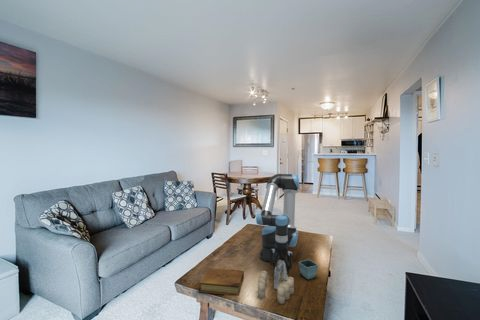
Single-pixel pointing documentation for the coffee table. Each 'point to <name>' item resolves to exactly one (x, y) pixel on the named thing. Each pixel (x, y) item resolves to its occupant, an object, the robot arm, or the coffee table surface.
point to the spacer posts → (282, 290)
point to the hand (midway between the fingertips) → (281, 277)
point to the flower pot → (308, 269)
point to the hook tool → (279, 273)
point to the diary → (222, 281)
